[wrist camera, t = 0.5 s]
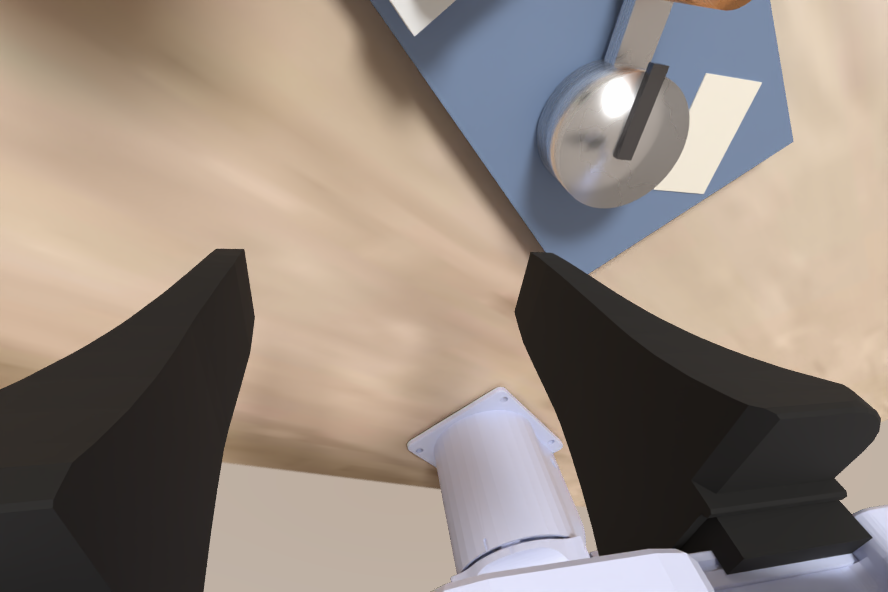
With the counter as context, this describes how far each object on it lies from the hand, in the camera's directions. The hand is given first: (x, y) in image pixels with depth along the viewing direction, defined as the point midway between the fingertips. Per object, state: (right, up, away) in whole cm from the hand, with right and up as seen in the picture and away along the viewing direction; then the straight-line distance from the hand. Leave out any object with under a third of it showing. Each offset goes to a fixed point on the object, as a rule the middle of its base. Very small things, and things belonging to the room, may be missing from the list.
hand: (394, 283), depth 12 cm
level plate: (+7, +9, +6) cm, 14 cm away
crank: (+8, +8, +6) cm, 13 cm away
